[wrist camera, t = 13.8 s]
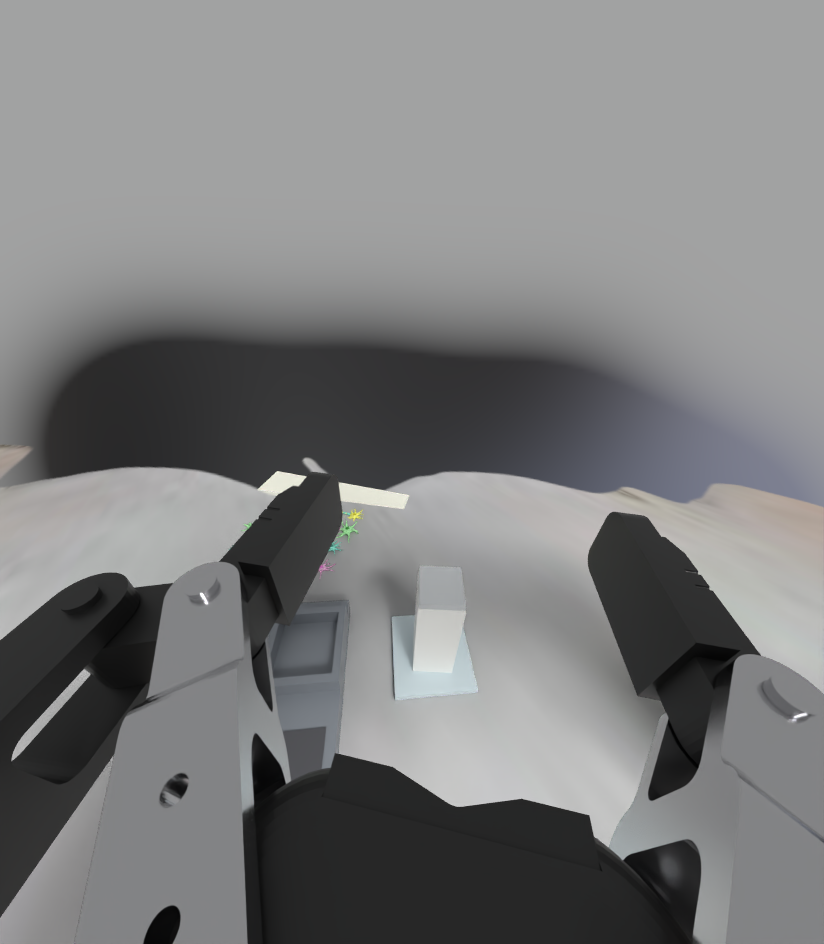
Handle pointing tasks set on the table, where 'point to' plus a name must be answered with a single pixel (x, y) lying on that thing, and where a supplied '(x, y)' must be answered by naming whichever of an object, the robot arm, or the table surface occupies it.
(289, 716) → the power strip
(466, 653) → the mat
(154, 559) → the table surface
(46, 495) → the table surface
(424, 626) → the block
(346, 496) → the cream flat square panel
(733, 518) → the table surface
